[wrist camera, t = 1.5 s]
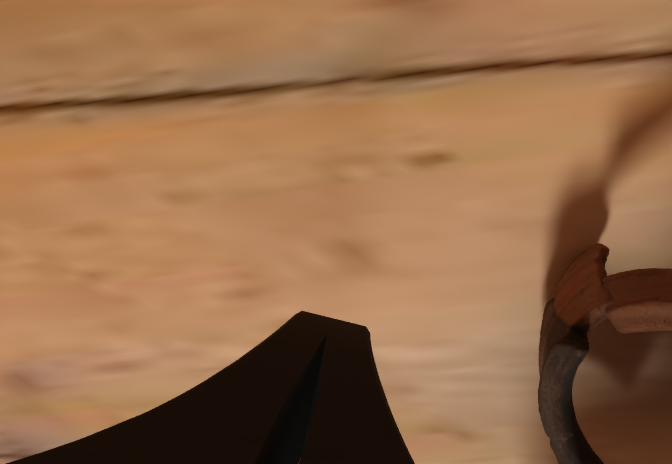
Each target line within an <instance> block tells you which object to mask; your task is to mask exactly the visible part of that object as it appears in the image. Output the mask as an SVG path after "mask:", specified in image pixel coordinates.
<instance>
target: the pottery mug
mask: <svg viewBox="0 0 672 464" xmlns="http://www.w3.org/2000/svg"><path fill="white" fill-rule="evenodd" d="M608 255H609V248H607V247H606V246H605V245H603V244H600V243H598V244H595V245H594V246H592V247H590V248H589V249H588V250H586V251H585V252H584V253H583V254H582V255H581V256H579V257H578V258H577V259H576V260H575V261H574V262H573V263H572V264H571V265H570V266H569V268H568V269H567V271H566V273H565V274H564V276H563V277H562V278H561V279H560V280H559V282H558V284H557V287H558V289H557V291H556V295H555V298H552V299H550V300H549V301H548V303H547V305H546V307H545V309H544V314H543V320H542V326H541V331H540V343H539V374H540V383H539V389H538V404H539V413H540V416H541V420H542V423H543V427H544V430H545V433H546V434H547V435H548V437H549V438H550V445H551V448H552V450H553V451H554V453H555V455H556V458H557V460H558V463H559V464H604V463H603V462H602V461H601V460H600V458H599V457H598V456H597V455H596V454H595V452H594V451H593V450H592V448H591V447H590V445H589V444H588V442H587V440H586V439H585V437H584V435H583V433H582V431H581V429H580V427H579V425H578V422H577V420H576V416H575V412H574V407H573V401H572V384H573V379H574V376H575V373H576V370H577V368H578V366H579V365H580V363H581V362H582V360H583V359H584V357H585V356H586V355H587V353H588V351H589V342H588V338H587V332H588V331H590V330H591V329H593V328H594V327H596V326H597V325H599V324H600V323H601V322H602V321H604V320H606V319H608V318H609V320H610V321H611V323H612V324H613V325H614V327H615V328H616V329H617V330H618V331H619V332H621V333H623V334H627V333H633V332H649V331H672V269H659V268H650V269H638V270H631V271H626V272H620V273H617V274H612V275H609V276H607V274H606V271H605V263H606V261H607V257H608Z"/></svg>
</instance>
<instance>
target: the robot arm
mask: <svg viewBox="0 0 672 464" xmlns="http://www.w3.org/2000/svg"><path fill="white" fill-rule="evenodd" d="M298 463H299V464H415V463H414V461H413V459H412V457H411V455H410V453H409V451H408V449H407V447H406V445H405V443H404V441H403V438H402V436H401V434H400V431H399V429H398V427H397V425H396V422H395V420H394V417H393V415H392V412H391V410H390V407H389V405H388V402H387V399H386V396H385V393H384V390H383V387H382V385H381V382H380V379H379V375H378V372H377V368H376V364H375V361H374V357H373V352H372V347H371V340H370V332H369V331H368V329H367V328H366V326H362V325H358V324H354V323H350V322H345V321H341V320H337V319H333V318H329V317H325V316H321V315H317V314H313V313H309V312H305V311H301V312H299V313H297V314H295V315H294V316H293V317H292V318H291V319H290V320H289V321H287V322H286V323H285V324H284V325H283V326H281V327H280V328H279V329H278V330H277V331H275V332H274V333H273V334H272V335H270V336H269V337H268V338H267V339H265V340H264V341H263V342H261V343H260V344H259V345H257V346H256V347H255V348H253V349H252V350H250V351H249V352H248V353H246V354H245V355H244V356H242V357H241V358H239V359H238V360H236V361H235V362H234V363H232V364H231V365H229V366H227V367H226V368H224V369H223V370H221V371H219V372H218V373H216V374H215V375H213V376H212V377H210V378H208V379H207V380H205V381H204V382H202V383H200V384H199V385H197V386H195V387H194V388H192V389H190V390H188V391H186V392H185V393H183V394H181V395H179V396H177V397H176V398H174V399H172V400H170V401H168V402H166V403H164V404H162V405H160V406H158V407H156V408H154V409H152V410H150V411H148V412H146V413H143V414H141V415H139V416H136V417H134V418H131V419H129V420H126V421H124V422H121V423H119V424H117V425H114V426H112V427H109V428H107V429H104V430H102V431H99V432H97V433H95V434H92V435H90V436H87V437H85V438H82V439H79V440H77V441H74V442H71V443H68V444H65V445H62V446H59V447H56V448H53V449H51V450H48V451H45V452H42V453H39V454H35V455H32V456H29V457H26V458H23V459H19V460H16V461H13V462H10V463H6V464H298Z"/></svg>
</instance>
